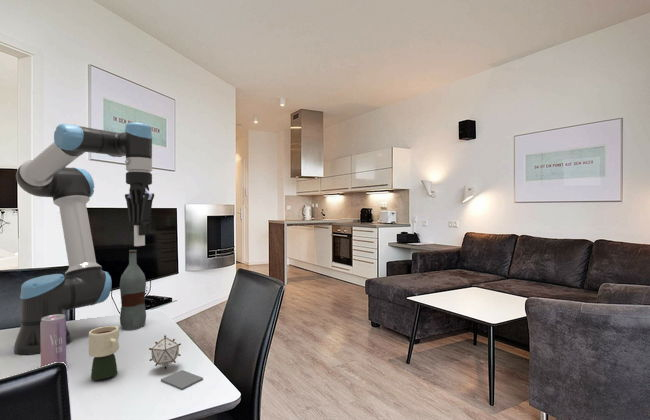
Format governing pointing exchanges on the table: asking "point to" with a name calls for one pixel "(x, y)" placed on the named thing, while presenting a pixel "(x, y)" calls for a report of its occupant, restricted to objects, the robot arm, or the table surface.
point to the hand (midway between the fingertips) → (139, 245)
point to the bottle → (132, 295)
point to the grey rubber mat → (181, 379)
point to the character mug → (103, 351)
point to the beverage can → (53, 339)
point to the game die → (165, 352)
